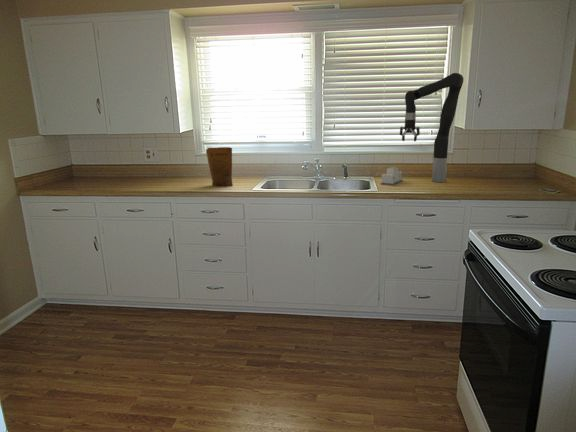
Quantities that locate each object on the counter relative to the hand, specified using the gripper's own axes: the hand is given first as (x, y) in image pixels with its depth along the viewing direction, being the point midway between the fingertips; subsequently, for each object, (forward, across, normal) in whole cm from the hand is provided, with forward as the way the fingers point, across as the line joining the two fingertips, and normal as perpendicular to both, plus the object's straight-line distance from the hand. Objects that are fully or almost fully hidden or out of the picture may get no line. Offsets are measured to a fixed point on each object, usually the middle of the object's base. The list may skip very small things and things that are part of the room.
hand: (409, 141), depth 319 cm
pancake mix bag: (+28, +106, +91) cm, 143 cm away
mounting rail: (+28, +4, +23) cm, 36 cm away
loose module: (+27, +4, +23) cm, 35 cm away
